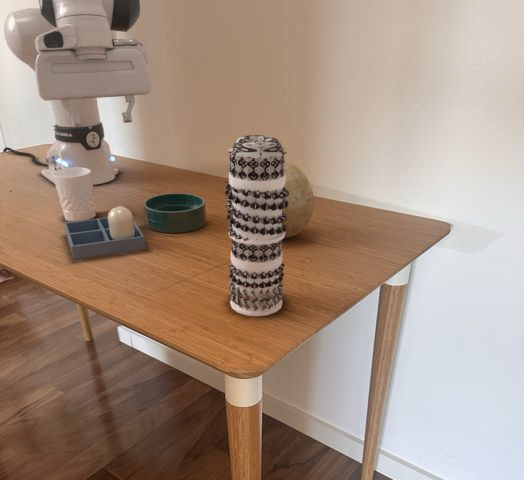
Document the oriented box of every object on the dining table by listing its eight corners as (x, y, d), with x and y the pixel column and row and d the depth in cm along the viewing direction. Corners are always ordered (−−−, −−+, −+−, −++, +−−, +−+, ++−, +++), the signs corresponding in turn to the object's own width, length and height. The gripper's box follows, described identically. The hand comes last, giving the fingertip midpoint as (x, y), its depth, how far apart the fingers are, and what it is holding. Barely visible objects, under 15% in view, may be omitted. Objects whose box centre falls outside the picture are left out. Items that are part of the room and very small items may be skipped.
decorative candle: (218, 311, 79) (211, 142, 65) (241, 286, 86) (239, 129, 72) (272, 322, 76) (277, 149, 62) (291, 295, 83) (300, 135, 69)
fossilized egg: (242, 229, 108) (242, 157, 100) (296, 222, 112) (300, 152, 103) (264, 251, 98) (265, 173, 90) (322, 243, 102) (328, 167, 94)
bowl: (134, 225, 109) (130, 202, 107) (180, 210, 117) (178, 189, 115) (171, 240, 102) (169, 216, 99) (218, 224, 110) (217, 202, 108)
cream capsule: (107, 245, 99) (100, 207, 94) (127, 238, 102) (122, 201, 97) (121, 251, 96) (115, 212, 92) (141, 244, 99) (136, 206, 95)
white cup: (54, 220, 111) (44, 174, 105) (77, 209, 117) (68, 165, 112) (84, 225, 109) (75, 178, 103) (105, 214, 115) (98, 169, 109)
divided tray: (66, 236, 103) (63, 222, 102) (132, 228, 108) (130, 214, 106) (74, 261, 93) (71, 246, 91) (146, 251, 98) (144, 236, 96)
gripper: (141, 41, 96) (153, 121, 101) (26, 44, 89) (46, 129, 94) (147, 35, 90) (160, 119, 96) (26, 37, 83) (47, 128, 89)
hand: (103, 124), depth 95 cm, fingers open, 8 cm apart
